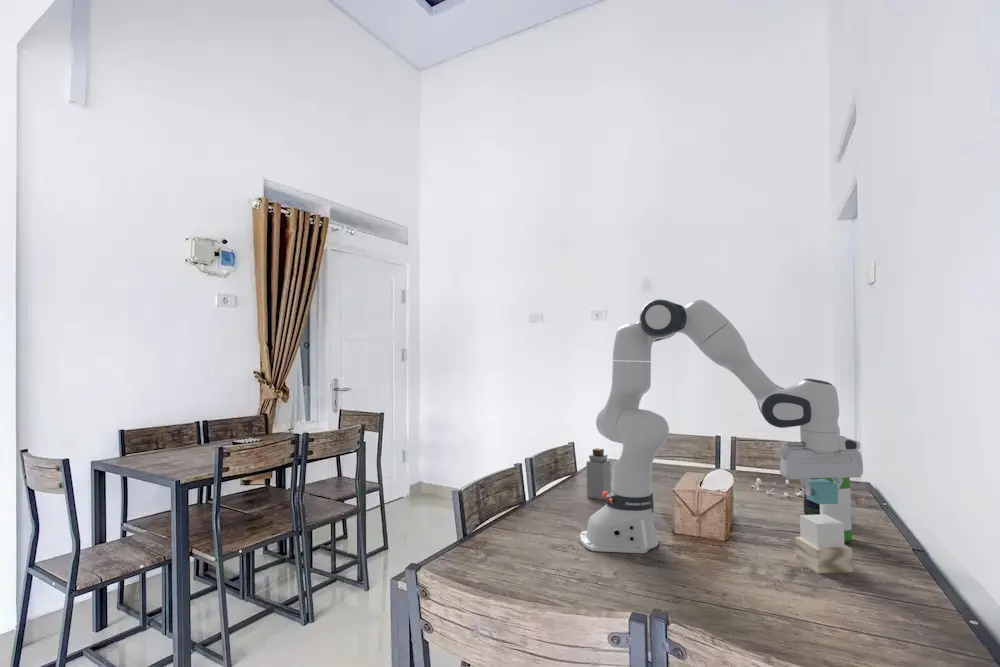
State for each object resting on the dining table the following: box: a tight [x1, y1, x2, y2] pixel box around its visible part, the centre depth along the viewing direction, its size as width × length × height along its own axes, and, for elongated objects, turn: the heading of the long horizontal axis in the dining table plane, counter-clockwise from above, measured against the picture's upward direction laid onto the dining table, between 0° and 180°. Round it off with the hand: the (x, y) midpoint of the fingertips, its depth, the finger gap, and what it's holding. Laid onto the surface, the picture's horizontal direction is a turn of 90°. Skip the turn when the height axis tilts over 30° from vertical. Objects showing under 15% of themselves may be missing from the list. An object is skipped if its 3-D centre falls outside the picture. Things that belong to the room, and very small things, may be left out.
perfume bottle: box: [586, 447, 612, 501], centre depth 200 cm, size 7×7×18 cm
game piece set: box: [751, 477, 804, 497], centre depth 204 cm, size 19×20×4 cm
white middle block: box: [799, 514, 845, 548], centre depth 135 cm, size 7×7×6 cm
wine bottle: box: [819, 478, 853, 543], centre depth 153 cm, size 8×8×30 cm
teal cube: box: [806, 479, 838, 504], centre depth 135 cm, size 5×5×5 cm
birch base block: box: [794, 536, 854, 574], centre depth 134 cm, size 9×9×6 cm
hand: (821, 494), depth 135 cm, fingers closed on teal cube, 5 cm apart
